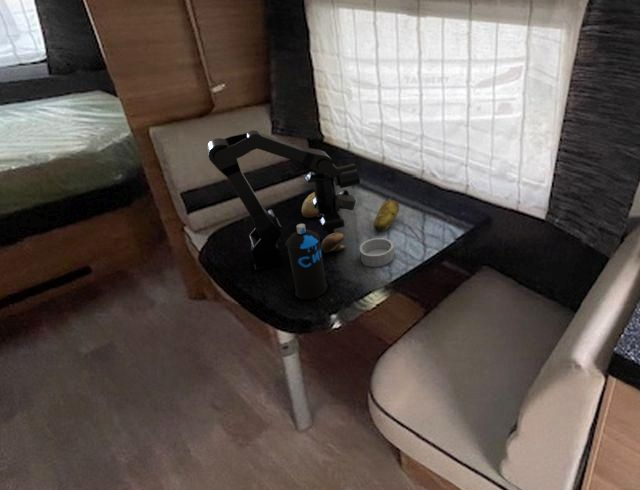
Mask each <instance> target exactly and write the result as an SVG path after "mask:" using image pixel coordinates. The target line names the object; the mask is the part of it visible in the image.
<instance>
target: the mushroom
mask: <svg viewBox="0 0 640 490" xmlns="http://www.w3.org/2000/svg"><path fill="white" fill-rule="evenodd" d="M344 240H345V235H344V233H342V232H337V231H336V232H335V231H334V233H332V234H328V235H326V236H325V237H324V238H323V240H322V241H321V242H320V247H321V252H322V253H325V254H326V253H330V252H332V251H335V252H339V251H341V250H343V249H345V248H346V246H345V245H343V244H342V242H343V241H344Z"/></svg>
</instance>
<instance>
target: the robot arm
mask: <svg viewBox="0 0 640 490" xmlns="http://www.w3.org/2000/svg"><path fill="white" fill-rule="evenodd" d="M257 149H258V150H261V151H264V152H267V153H270V154H273V155H276V156H279V157H282V158H285V159H288V160H292V161H294V162H296V163H299V164H301V165H302V166H304V167H305V168H307V169H309V170H310V171H309V172H308V174H307V175H306V176H305V177H304V178H305V180H306V181H307V183H309V184H310V183H313V184H312V185H313V189H314V192H315V193H314V192H313V193H314V194H315V198H314V199H313V205H314V208H317V210H318V212H319V213H317V216H316V217H317V218H318V221H319V223H320V226H321V229H322V231H324V232H326V233H327V234H328V235H329V234H332V233H335V230H337V229H341V228H344V227H345V220H344V218H343V215H342V214H340V213H339V212H340V211H341V210H349V211H354V209H355V205H356V202H357V201H356V198H355V197H354V196H353V195H352V194H350V193H349V190H348V189H344V188H350V187H354V186H357V185H360V183H361V178H360V175H359V172H358V170H357V165H356V164H355V163H349V164H347V165H341V166H337V165H336V164H335V163H333V162H334V161H333V160H332V158H331V157H330V156H329V155H328V154H327V153H326V151H323V150H321V149H317V148H312V147H300V146H297V145H295V144H292V143H289V142H286V141H284V140H281V139H278V138H276V137H272V136H269V135H266V134H264V133H261V132H260V131H258V130H250V131H247V132H244V133H240V134H234V135H230V136H227V137H225V138H221V137H219V138H214V139H212V140H210V141H209V142H208V144H207V146H206V150H207V151H206V152H207V155H208V156H207V157H208V160H209V161H210V162H211V164H212V165H214V167H215V168H216V169H217V170H218V171H219V172H220V173H221V174H222V175H223V176H225V177H226V178H227V180H228V181H229V184H230V185H231V186H232V188H233V190H234V191H235V192H236V195H237V196H238V197H239V199H240V201H241V203H242V204H243V206H244V207H245V210H246V211H247V213H248V214H249V215H250V217H251V219H252V222H253V224H254V229H253V230H252V231H251V232H250V233H249V235H248V237H249V240H250V243H251V244H250V245H251V246H250V247H251V249H250V250H251V253H252V259H253V263H254V270H255V271H261V270H266V269H269V268H273V267H277V266H280V264H281V262H280V261H281V252H280V248H279V244H278V243H277V241H278V240H279V239H280V238H281V236H282V231H281V229H282V228H283V227H282V226H281V223H280V221H279V219H278V217H276V216H275V213H274V210H273V209H272V208H271V209H269V210H266V209H265V208H264V207H263V205H262V203H261V202H260V200H259V198H258V197H257V194H256V193H255V191H254V190H253V188H252V186H251V184H250V183H249V181H248V180H247V178H246V176H245V175H244V173H243V171H242V170H241V168H240V164H239V162H238V161H239V160H238V159H239V158H242V157H243V156H245V155H247V154H249V153H250V152H252V151H254V150H257ZM335 186H336V187H339V188H340V189H342V190H341V191H340V192H339V193H336V189H335Z"/></svg>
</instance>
